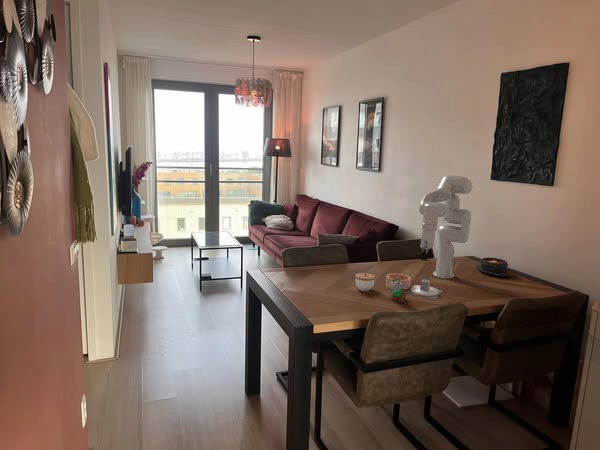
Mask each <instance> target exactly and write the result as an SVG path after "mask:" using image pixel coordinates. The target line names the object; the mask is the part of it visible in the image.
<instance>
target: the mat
mask: <svg viewBox="0 0 600 450" xmlns="http://www.w3.org/2000/svg"><path fill="white" fill-rule="evenodd" d="M413 286H417V284H416V285H415V284H414V285H413ZM410 289H411V287H410V288H409V289H407V290H406V294H410V295H415V296H420V297H426V298H429V299H435V300H437V298H438V297H439V296H440V295H441V294H442V293H443V292H444V290H441V289H438V290H439V294H438V295H436V296H422V295H417V294H415V293H413V292H411V290H410Z"/></svg>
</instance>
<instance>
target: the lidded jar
mask: <svg viewBox="0 0 600 450" xmlns="http://www.w3.org/2000/svg"><path fill="white" fill-rule="evenodd" d="M354 277H355V279H354V280H355V285H356V287H357V289H358V290H359V291H361V292H370V290H371V289H372V288H373V287H374V285H375V279H376V276H375V275H374V274H371V273H367V272H360V273H355V275H354Z"/></svg>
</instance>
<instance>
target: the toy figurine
mask: <svg viewBox="0 0 600 450" xmlns="http://www.w3.org/2000/svg"><path fill="white" fill-rule="evenodd" d="M391 286H392V289H391V300H392V302H395V303H399V304H405V302H406V297H407V296H406V294H407V293H406V292H407V290H408V289H407V285H404V283H403V282H401V281H400V278H396V279H393V280H392V282H391ZM406 289H407V290H406Z"/></svg>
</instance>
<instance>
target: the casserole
mask: <svg viewBox="0 0 600 450" xmlns="http://www.w3.org/2000/svg"><path fill="white" fill-rule="evenodd" d="M475 267H476V268H477V270H479V271H480V272H483V273H485V274H488V275H492V276H500V277H510V276H512V273H510V272H509V270H508V269H507V268H508V267H509V264H508V261H507V260H505V259H501V258H497V257H483V258H481V260H480V261H479V264H476V265H475Z"/></svg>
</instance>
